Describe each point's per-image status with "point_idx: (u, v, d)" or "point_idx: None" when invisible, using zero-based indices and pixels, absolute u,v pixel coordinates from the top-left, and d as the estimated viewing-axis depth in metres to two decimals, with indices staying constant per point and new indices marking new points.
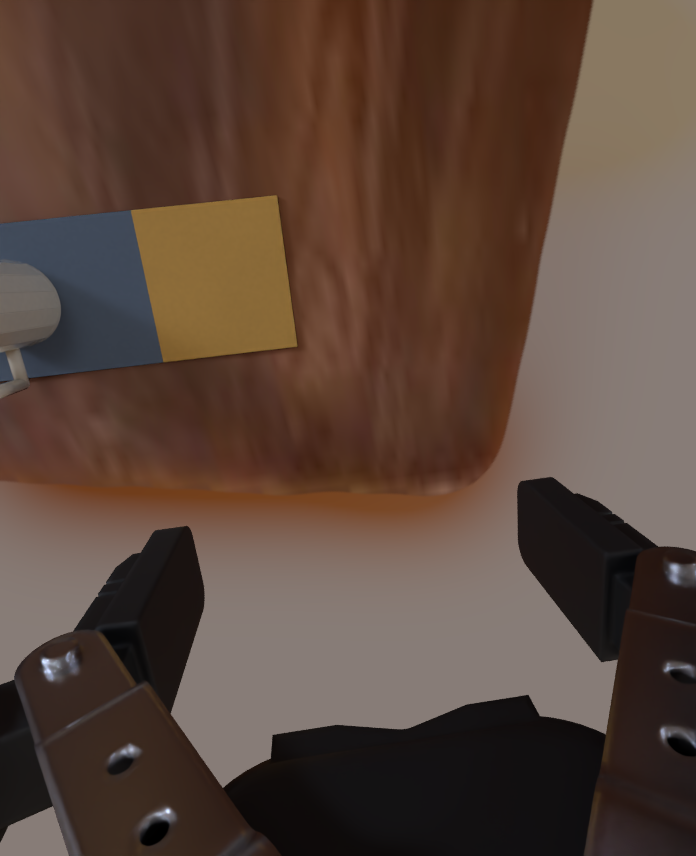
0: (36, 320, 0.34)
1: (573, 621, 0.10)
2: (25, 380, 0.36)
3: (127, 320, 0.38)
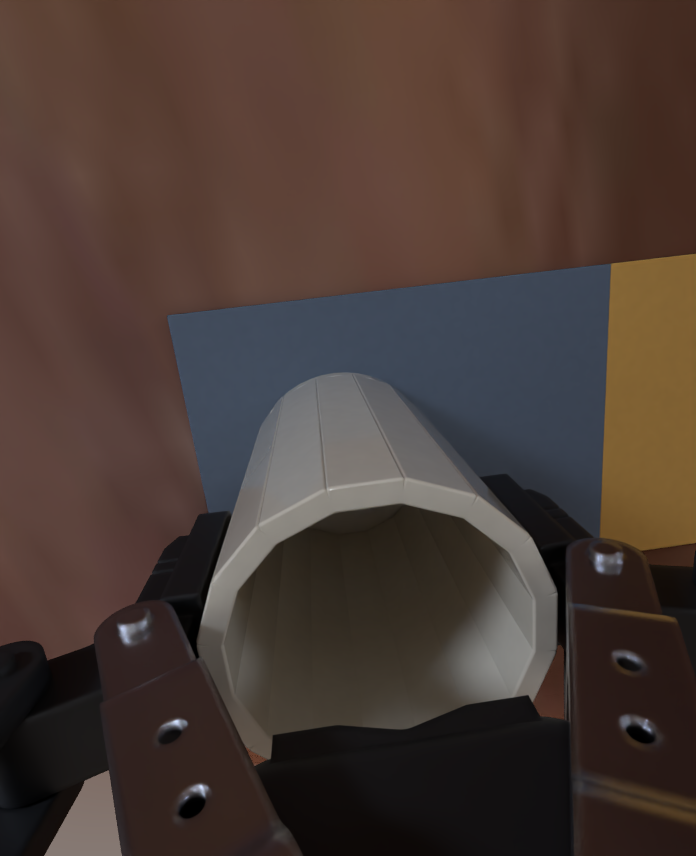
0: None
1: None
2: None
3: (550, 483, 0.18)
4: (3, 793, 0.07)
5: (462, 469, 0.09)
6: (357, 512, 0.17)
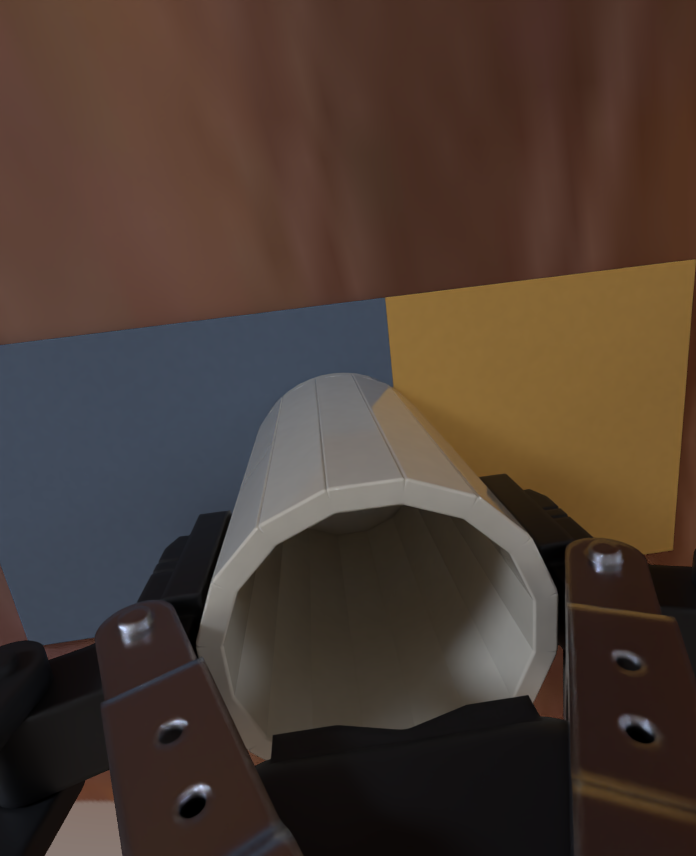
0: None
1: None
2: None
3: None
4: (4, 793, 0.07)
5: (462, 470, 0.09)
6: (356, 513, 0.17)
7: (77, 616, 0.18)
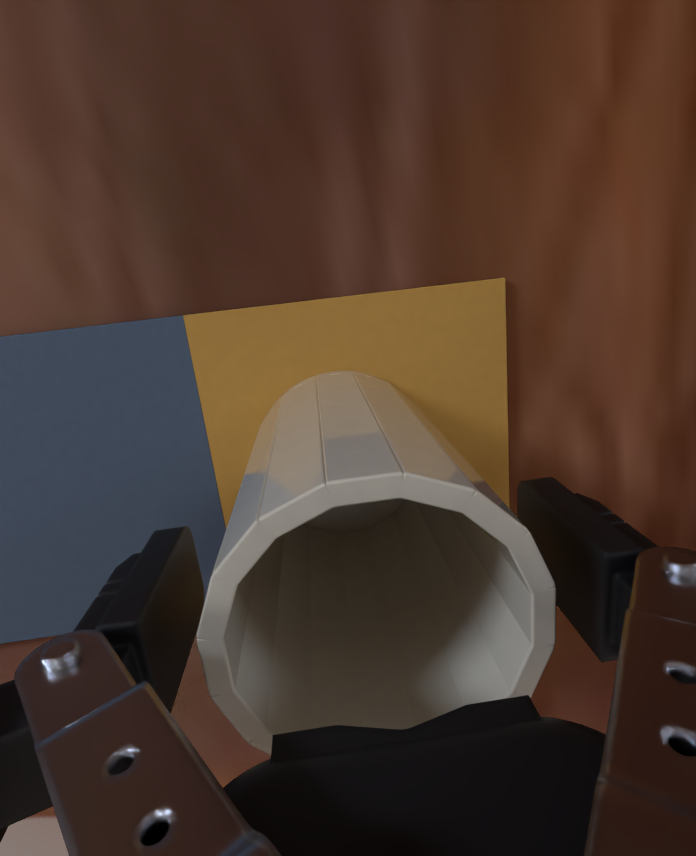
0: None
1: (573, 621, 0.10)
2: None
3: None
4: None
5: (461, 465, 0.09)
6: (357, 510, 0.17)
7: None
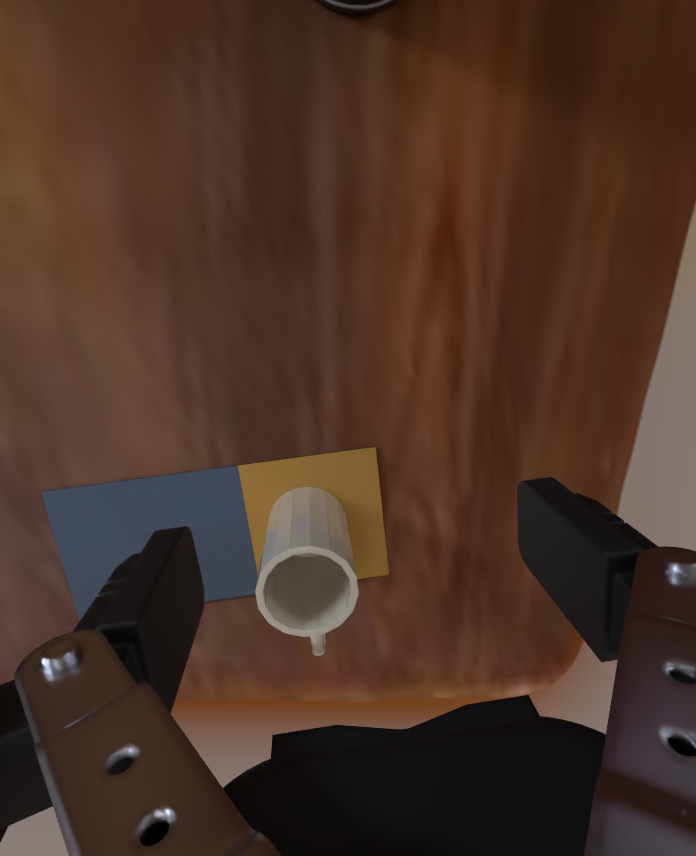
0: None
1: (572, 620, 0.10)
2: None
3: (229, 559, 0.39)
4: None
5: (333, 540, 0.31)
6: None
7: None
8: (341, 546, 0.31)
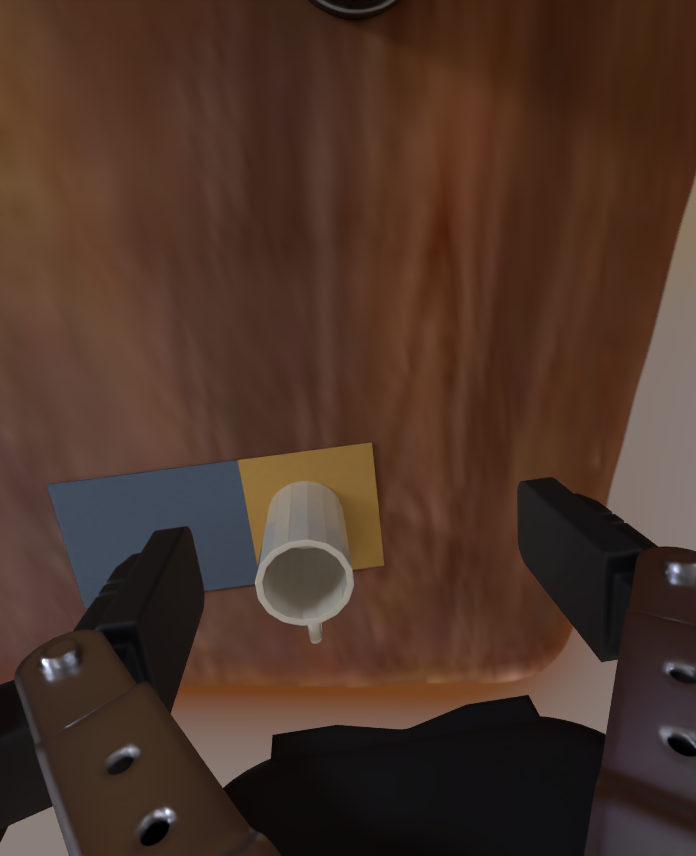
0: None
1: (573, 620, 0.10)
2: None
3: (229, 550, 0.40)
4: None
5: (330, 533, 0.32)
6: None
7: None
8: (337, 539, 0.32)
